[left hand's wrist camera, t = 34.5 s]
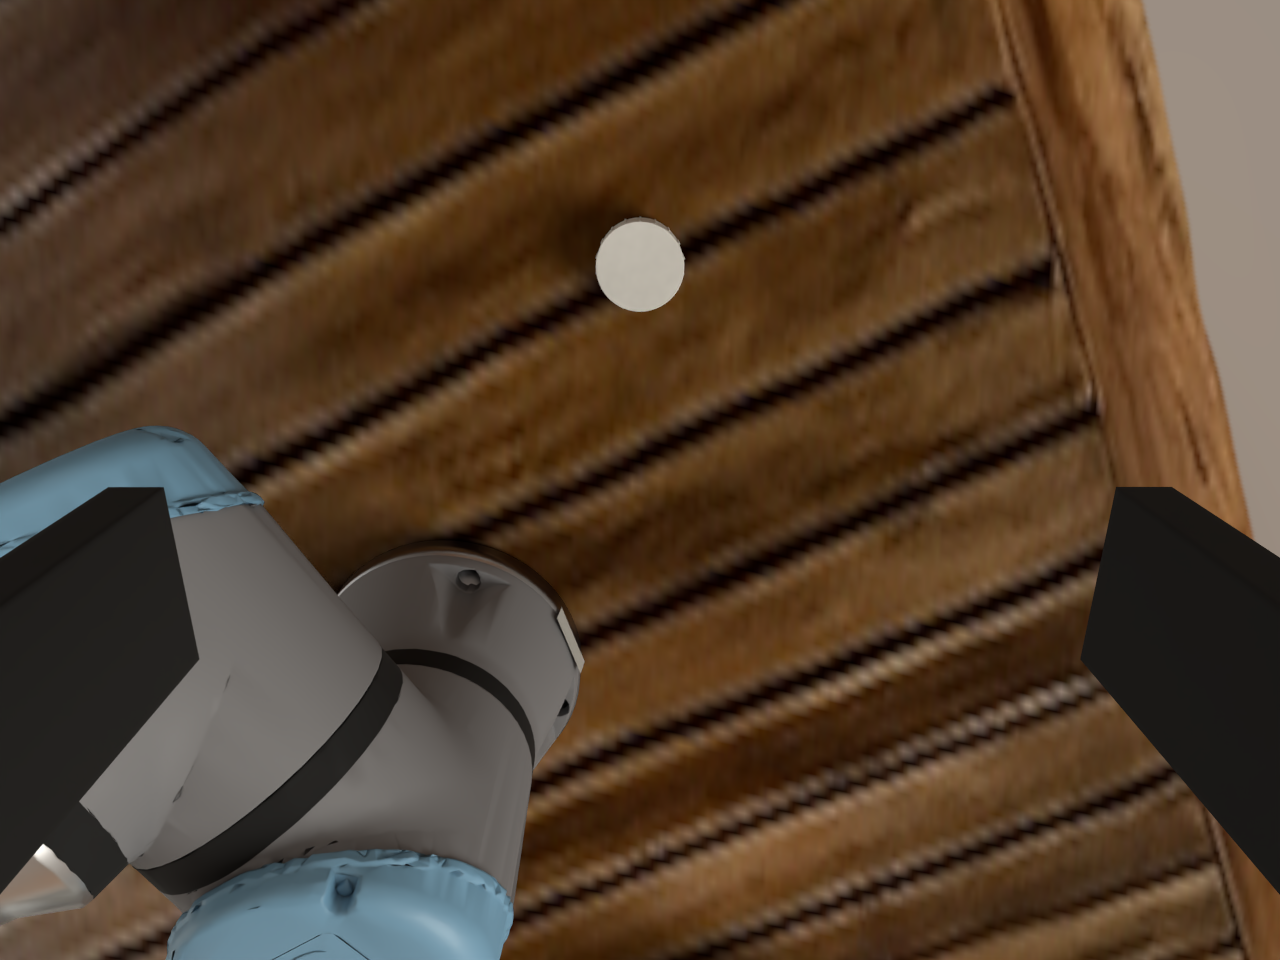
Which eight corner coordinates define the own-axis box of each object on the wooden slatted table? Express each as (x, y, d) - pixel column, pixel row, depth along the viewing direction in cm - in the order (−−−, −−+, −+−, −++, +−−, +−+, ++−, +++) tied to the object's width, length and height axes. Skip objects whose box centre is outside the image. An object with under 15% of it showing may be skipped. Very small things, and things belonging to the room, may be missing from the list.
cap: (683, 216, 44) (686, 220, 42) (681, 304, 45) (683, 313, 43) (596, 215, 44) (594, 219, 42) (597, 304, 45) (595, 312, 43)
